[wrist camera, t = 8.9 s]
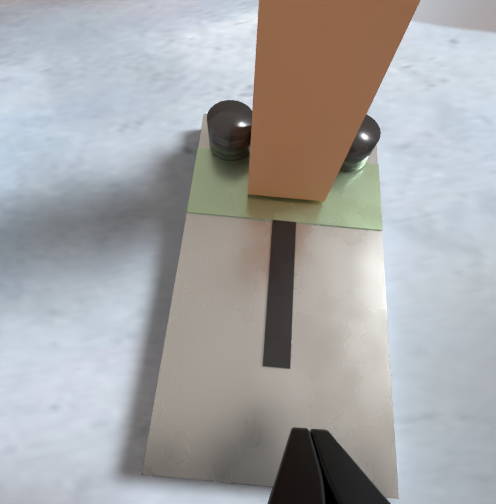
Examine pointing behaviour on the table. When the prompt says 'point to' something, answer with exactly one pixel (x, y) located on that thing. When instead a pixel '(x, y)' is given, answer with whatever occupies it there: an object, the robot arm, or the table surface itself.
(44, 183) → the table surface
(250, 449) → the fader console
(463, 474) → the table surface
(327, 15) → the fader tab
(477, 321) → the table surface
